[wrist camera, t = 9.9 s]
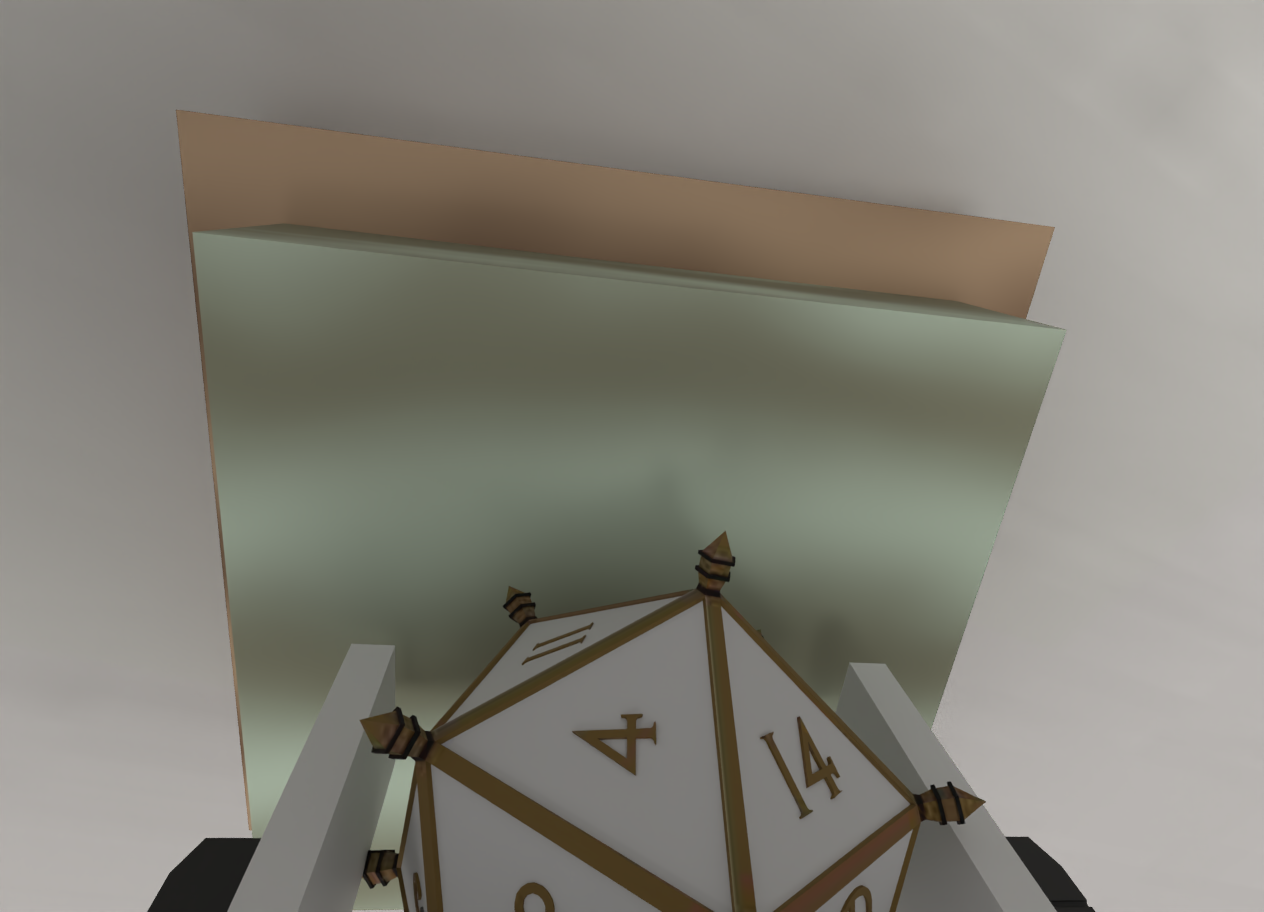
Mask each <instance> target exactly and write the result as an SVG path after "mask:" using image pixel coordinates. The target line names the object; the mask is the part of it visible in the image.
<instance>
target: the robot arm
mask: <svg viewBox="0 0 1264 912" xmlns="http://www.w3.org/2000/svg"><path fill="white" fill-rule="evenodd" d="M394 709H395V645H371V644H351V646H350V648H349V650H348V652H347V655H346V657H345V659H344V661H343V663H342V665H341V667H340V670H339V672H338V674H337V676H336V678H335V680H334V683H333V685H332V687H331V689H330V691H329V693H328V695H327V698H326V700H325V702H324V704H323V706H322V708H321V711H320V713H319V715H318V717H317V719H316V721H315V723H314V726H313V728H312V730H311V732H310V734H309V736H308V739H307V741H306V743H305V745H304V747H303V749H302V751H301V754H300V756H299V758H298V760H297V762H296V764H295V767H294V769H293V771H292V773H291V775H290V777H289V779H288V782H287V784H286V786H285V788H284V790H283V792H282V795H281V797H280V799H279V801H278V803H277V805H276V807H275V810H274V812H273V814H272V816H271V818H270V820H269V823H268V825H267V827H266V829H265V831H264V833H263V835H262V838H205V839H204V840H203V841H202V842H201V843H200V844H199V845H198V846H197V847H196V848H195V849H194V850H193V851H192V852H191V853H190V854H189V855H188V856H187V857H186V858H185V859H184V860H183V861H182V862H181V863H179V864H178V865H177V866H176V867H175V868H174V869H173V870H172V871H171V872H170V873H169V875H168V877H167V878H166V880H165V882H164V884H163V885H162V887H161V889H160V891H159V892H158V894H157V896H156V898H155V899H154V901H153V903H152V905H151V906H150V908H149V910H148V911H147V912H352V910H353V906H354V903H355V899H356V896H357V892H358V889H359V886H360V882H361V879H362V875H363V871H364V867H365V862H366V858H367V853H368V850H370V848H371V844H372V841H373V837H374V834H375V830H376V827H377V824H378V820H379V817H380V813H381V810H382V806H383V803H384V799H385V796H386V793H387V789H388V786H389V782H390V779H391V775H392V772H393V768H394V765H395V759H390V758H388V757H389V754H374V753H371V751H372V747H373V746H372V744H371V742H370V740H369V738H368V736H367V734H366V732H365V730H364V728H363V726H362V724H361V722H360V720H361V719H365V718H369V717H373V716H377V715H381V714H385V713H389V712H392V711H393V710H394ZM836 714H837V715H838V716H839V717H840V718H841V719H842V721H843V722H844V723H845V724H846V725H847V726H848V727H849V728H850V729H851V730H852V731H853V732H854V733H855V734H856V735H857V736H858V737H859V738H860V739H861V740H862V741H863V742H864V743H865V745H866V746H867V747H868V748H869V749H870V750H871V751H872V752H873V753H874V754H875V755H876V756H877V757H878V758H879V759H880V760H881V761H882V762H883V763H884V764H885V765H886V766H887V767H888V768H889V770H890V771H891V772H892V773H893V774H894V775H895V776H896V777H897V778H898V779H899V780H900V781H901V782H902V783H903V784H904V785H905V786H906V787H907V788H908V789H909V790H910V791H911V792H912V794H918V795H920V794H922V793H924V792H926V791H928V790H930V789H931V788H930V785H933V784H934V785H935V787H936V788H939V787H945V786H947V782H949V781H951V783H952V785H953V786H954V787H956V788H958V789H961V790H963V791H965V792H967V793H969V794H971V795H973V796H975V797H977V796H976V794H975V793H974V791H973V790H972V788H971V787H970V785H969V784H968V783H967V781H966V780H965V778H964V777H963V775H962V774H961V772H960V771H959V770H958V768H957V767H956V765H955V764H954V762H953V761H952V759H951V758H950V757H949V755H948V754H947V752H946V751H945V749H944V748H943V746H942V745H941V744H940V742H939V741H938V739H937V738H936V736H935V735H934V733H933V732H932V731H931V729H930V728H929V726H928V725H927V723H926V722H925V720H924V719H923V718H922V716H921V715H920V713H919V712H918V710H917V709H916V708H915V706H914V705H913V703H912V702H911V700H910V699H909V697H908V696H907V695H906V693H905V692H904V690H903V689H902V687H901V686H900V684H899V683H898V682H897V680H896V679H895V677H894V676H893V674H892V673H891V671H890V670H889V669H888V667H887V666H886V664H878V663H851V662H849V666H848V669H847V673H846V677H845V680H844V684H843V687H842V691H841V695H840V698H839V702H838V705H837V709H836ZM977 798H978V797H977ZM896 912H1095V911H1094V909H1093V908H1092V907H1089V906H1088V905H1087V900H1086V898H1085V897H1084V896H1083V894H1082V893H1081V892H1080V890H1079V889H1078V888H1077V886H1076V885H1075V884H1074V882H1073V881H1072V880H1071V878H1070V877H1069V876H1068V874H1067V873H1066V872H1065V870H1064V869H1063V868H1062V866H1061V865H1060V864H1058V863H1057V862H1056V861H1055V860H1054V859H1053V858H1052V857H1050V856H1049V855H1048V854H1047V853H1046V852H1045V851H1044V850H1042V849H1041V848H1040V847H1039V846H1038V845H1037V844H1036V843H1034V842H1033V841H1032V840H1031V839H1030V838H1029V837H1005V836H1004V835H1003V833H1002V832H1001V830H1000V829H999V827H998V826H997V824H996V823H995V822H994V820H993V819H992V817H991V816H990V814H989V813H988V811H987V810H986V809H985V807H984V806H983V805H981V806H980V807H979V808H978V809H977V810H976V811H974V812H973V813H972V814H971V815H970V816H968V817H967V818H966V819H965V824H961V825H958V824H957V821H952V822H947V825H940V824H939V822H936V821H930V820H924V821H922V822H921V824H920V827H919V831H918V834H917V838H916V842H915V845H914V849H913V852H912V856H911V859H910V863H909V866H908V870H907V873H906V877H905V880H904V884H903V887H902V891H901V894H900V898H899V901H898V905H897V909H896Z"/></svg>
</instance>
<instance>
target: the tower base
mask: <svg viewBox="0 0 1264 912" xmlns="http://www.w3.org/2000/svg"><path fill="white" fill-rule="evenodd" d="M176 115H177V125H178V134H179V144H180V154H181V164H182V174H183V184H184V194H185V203H186V213H187V223H188V233H189V243H190V253H191V263H192V272H193V282H194V292H195V302H196V312H197V322H198V332H199V341H200V351H201V361H202V371H203V381H204V391H205V401H206V410H207V420H208V430H209V440H210V450H211V460H212V469H213V479H214V489H215V499H216V509H217V519H218V529H219V538H220V548H221V558H222V568H223V578H224V588H225V598H226V607H227V617H228V627H229V637H230V647H231V657H232V667H233V676H234V686H235V696H236V706H237V716H238V726H239V736H240V745H241V755H242V765H243V775H244V785H245V795H246V805H247V814H248V824H249V830H252V836H253V838H262V835H263V833H264V831H265V829H266V827H267V825H268V823H269V820H270V818H271V816H272V814H273V812H274V810H275V807H276V805H277V803H278V801H279V799H280V797H281V795H282V792H283V790H284V788H285V786H286V784H287V782H288V779H289V777H290V775H291V773H292V771H293V769H294V767H295V764H296V762H297V760H298V758H299V756H300V754H301V751H302V749H303V747H304V745H305V743H306V741H307V739H308V736H309V734H310V732H311V730H312V728H313V726H314V723H315V721H316V719H317V717H318V715H319V713H320V711H321V708H322V706H323V704H324V702H325V700H326V698H327V695H328V693H329V691H330V689H331V687H332V685H333V683H334V680H335V678H336V676H337V674H338V672H339V670H340V667H341V665H342V663H343V661H344V659H345V657H346V655H347V652H348V650H349V648H350V646H351V644H371V645H395V708H396V707H397V706H398V707H399V708H401V710H402V714H403V715H405V716H407V717H409V718H410V717H411V716H412V715H414V716H416V717H417V720H418V724H419V725H420V726H421V727H422V728H423V729H424V730H425V731H430V730H431V729H432V728H433V727H434V726H435V725H436V723H437V722H438V721H439V720H440V719H441V718H442V717H443V715H444V714H445V713H446V712H447V711H448V710H449V709H450V707H451V706H452V705H453V704H454V703H455V702H456V701H457V699H458V698H459V697H460V696H461V695H462V694H463V693H464V691H465V690H466V689H467V688H468V687H469V686H470V685H471V683H472V682H473V681H474V680H475V679H476V678H477V677H478V675H479V674H480V673H481V672H482V671H483V670H484V669H485V667H486V666H487V665H488V664H489V663H490V662H491V661H492V659H493V658H494V657H495V656H496V655H497V654H498V653H499V651H500V650H501V649H502V648H503V647H504V646H505V645H506V644H507V642H508V641H509V640H510V639H511V638H512V637H513V636H514V634H515V633H516V632H517V631H518V630H519V629H520V626H519V623H516V622H515V621H513V620H512V619H510V618H509V616H508V615H509V614H510V613H509V612H508V611H507V610H506V609H504V608H503V605H504V604H505V603H506V598H507V593H508V588H509V586H510V587H513V588H515V589H518V590H520V591H522V592H525V593H528V592H530V593H531V597H530V599H531V601H532V603H533V602H535V604H536V606H535V610H534V611H535V616H536V617H537V618H542V617H548V616H553V615H558V614H563V613H569V612H574V611H579V610H584V609H590V608H595V607H600V606H606V605H611V604H616V603H621V602H627V601H632V600H637V599H642V598H648V597H653V596H658V595H664V594H669V593H674V592H679V591H685V590H690V589H695V588H696V587H697V585H698V583H699V577H698V571H696V570H695V565H699V563H700V558H701V555H699V554H698V550H704V549H705V548H706V547H707V546H708V545H710V544H711V543H712V542H713V541H714V540H715V539H716V538H718V537H719V536H720V535H721V534H722V533H723V532H724V531H726V534H727V538H728V542H729V546H730V549H731V553H732V556H734V557H735V566H734V567H732V566H731V568H730V571H729V572H731V573H730V581H729V582H725V584H724V585H723V587H722V588H721V590H720V593H721V594H722V595H723V596H724V597H725V599H726V600H727V601H728V602H729V603H730V604H731V605H732V606H733V607H734V608H735V609H736V610H737V611H738V612H739V613H740V614H741V615H742V616H743V617H744V618H745V619H746V620H747V621H748V623H749V624H750V625H751V626H752V627H753V628H754V629H755V630H760V629H761V634H762V636H764V639H765V640H766V641H767V642H768V643H769V644H770V645H771V646H772V648H773V649H774V650H775V651H776V652H777V653H778V654H779V655H780V656H781V657H782V658H783V659H784V660H785V661H786V662H787V663H788V664H789V665H790V666H791V667H792V668H793V669H794V670H795V672H796V673H797V674H798V675H799V676H800V677H801V678H802V679H803V680H804V681H805V682H806V683H807V684H808V685H809V686H810V687H811V688H812V689H813V690H814V691H815V692H816V693H817V694H818V696H819V697H820V698H821V699H822V700H823V701H824V702H825V703H826V704H827V705H828V706H829V707H830V708H831V709H832V710H833V711H834V712H835V713H836V709H837V705H838V702H839V698H840V695H841V691H842V687H843V684H844V680H845V677H846V673H847V669H848V666H849V662H851V663H878V664H886V666H887V667H888V669H889V670H890V671H891V673H892V674H893V676H894V677H895V679H896V680H897V682H898V683H899V684H900V686H901V687H902V689H903V690H904V692H905V693H906V695H907V696H908V697H909V699H910V700H911V702H912V703H913V705H914V706H915V708H916V709H917V710H918V712H919V713H920V715H921V716H922V718H923V719H924V720H925V722H926V723H927V725H928V726H929V728H930V729H931V728H932V725H933V722H934V719H935V716H936V713H937V710H938V707H939V704H940V701H941V698H942V695H943V692H944V689H945V686H946V684H947V681H948V678H949V675H950V672H951V669H952V666H953V663H954V660H955V657H956V654H957V651H958V648H959V645H960V642H961V639H962V636H963V633H964V631H965V628H966V625H967V622H968V619H969V616H970V613H971V610H972V607H973V604H974V601H975V598H976V595H977V592H978V589H979V586H980V583H981V580H982V578H983V575H984V572H985V569H986V566H987V563H988V560H989V557H990V554H991V551H992V548H993V545H994V542H995V539H996V536H997V533H998V530H999V527H1000V524H1001V522H1002V519H1003V516H1004V513H1005V510H1006V507H1007V504H1008V501H1009V498H1010V495H1011V492H1012V489H1013V486H1014V483H1015V480H1016V477H1017V474H1018V471H1019V469H1020V466H1021V463H1022V460H1023V457H1024V454H1025V451H1026V448H1027V445H1028V442H1029V439H1030V436H1031V433H1032V430H1033V427H1034V424H1035V421H1036V418H1037V416H1038V413H1039V410H1040V407H1041V404H1042V401H1043V398H1044V395H1045V392H1046V389H1047V386H1048V383H1049V380H1050V377H1051V374H1052V371H1053V368H1054V365H1055V362H1056V360H1057V357H1058V354H1059V351H1060V348H1061V345H1062V342H1063V339H1064V336H1065V333H1066V330H1065V329H1061V328H1057V327H1053V326H1049V325H1046V324H1042V323H1038V322H1034V321H1030V320H1027V319H1026V317H1027V313H1028V310H1029V307H1030V304H1031V301H1032V298H1033V295H1034V291H1035V288H1036V285H1037V282H1038V279H1039V276H1040V272H1041V269H1042V266H1043V263H1044V260H1045V257H1046V254H1047V250H1048V247H1049V244H1050V241H1051V238H1052V235H1053V231H1054V228H1055V227H1049V226H1041V225H1034V224H1026V223H1019V222H1012V221H1004V220H997V219H989V218H982V217H974V216H967V215H959V214H952V213H944V212H937V211H929V210H922V209H914V208H907V207H899V206H892V205H885V204H877V203H870V202H862V201H855V200H847V199H840V198H832V197H825V196H817V195H810V194H802V193H795V192H787V191H780V190H772V189H765V188H758V187H750V186H743V185H735V184H728V183H720V182H713V181H705V180H698V179H690V178H683V177H675V176H668V175H660V174H653V173H645V172H638V171H631V170H623V169H616V168H608V167H601V166H593V165H586V164H578V163H571V162H563V161H556V160H548V159H541V158H533V157H526V156H518V155H511V154H504V153H496V152H489V151H481V150H474V149H466V148H459V147H451V146H444V145H436V144H429V143H421V142H414V141H406V140H399V139H391V138H384V137H377V136H369V135H362V134H354V133H347V132H339V131H332V130H324V129H317V128H309V127H302V126H294V125H287V124H279V123H272V122H264V121H257V120H249V119H242V118H235V117H227V116H220V115H212V114H205V113H197V112H190V111H182V110H176ZM414 766H415V761H414V760H413V759H412V758H411V757H407V758H406V760H400V759H395V765H394V768H393V772H392V775H391V779H390V782H389V786H388V789H387V793H386V796H385V799H384V803H383V806H382V810H381V813H380V817H379V820H378V824H377V827H376V830H375V834H374V837H373V841H372V844H371V848H370V850H395V853H399V850H400V844H401V839H402V833H403V828H404V822H405V817H406V811H407V805H408V800H409V794H410V789H411V783H412V777H413V772H414ZM398 909H404V908H403V902H402V897H401V891H400V886H399V880H398V877H396V878H394V879H392V880H390V882H389V883H388V884H387V886H383V885H382V884H381V883H380V884H376V885H375V887H374V888H373V889H370V888H369V886H368V884H367V883H366V881H365V880H364V879H363V878H362V879H361V882H360V886H359V889H358V892H357V896H356V899H355V903H354V906H353V910H398Z"/></svg>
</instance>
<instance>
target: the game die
mask: <svg viewBox="0 0 1264 912" xmlns="http://www.w3.org/2000/svg"><path fill="white" fill-rule="evenodd" d="M698 554H699V555H701V558H700V563H699V565H695V570H696V571H698V577H699V583H698V585H697V587H696V588H695V589H690V590H685V591H679V592H674V593H669V594H664V595H658V596H653V597H648V598H642V599H637V600H632V601H627V602H621V603H616V604H611V605H606V606H600V607H595V608H590V609H584V610H579V611H574V612H569V613H563V614H558V615H553V616H548V617H542V618H537V617H536V616H535V611H534V610H535V606H536V604H535V602H533V603H532V601H531V599H530V597H531V593H530V592H528V593H525V592H522V591H520V590H518V589H515V588H513V587H510V586H509V588H508V593H507V598H506V603H505V604H504V605H503V608H504V609H506V610H507V611H508V612H509V613H510V614H509V615H508V616H509V618H510V619H512V620H513V621H515V622H516V623H519V626H520V629H519V630H518V631H517V632H516V633H515V634H514V636H513V637H512V638H511V639H510V640H509V641H508V642H507V644H506V645H505V646H504V647H503V648H502V649H501V650H500V651H499V653H498V654H497V655H496V656H495V657H494V658H493V659H492V661H491V662H490V663H489V664H488V665H487V666H486V667H485V669H484V670H483V671H482V672H481V673H480V674H479V675H478V677H477V678H476V679H475V680H474V681H473V682H472V683H471V685H470V686H469V687H468V688H467V689H466V690H465V691H464V693H463V694H462V695H461V696H460V697H459V698H458V699H457V701H456V702H455V703H454V704H453V705H452V706H451V707H450V709H449V710H448V711H447V712H446V713H445V714H444V715H443V717H442V718H441V719H440V720H439V721H438V722H437V723H436V725H435V726H434V727H433V728H432V729H431V730H430V731H425V730H424V729H423V728H422V727H421V726H420V725H419V724H418V720H417V717H416V716H414V715H412V716H411V717H410V718H409V717H407V716H405V715H403V714H402V710H401V708H399V707H398V706H397V707H396V708H395V709H394V710H393V711H392V712H389V713H385V714H381V715H377V716H373V717H369V718H365V719H361V720H360V722H361V724H362V726H363V728H364V730H365V732H366V734H367V736H368V738H369V740H370V742H371V744H372V746H373V747H372V751H371V753H374V754H389V757H388V758H390V759H400V760H406V758H407V757H411V758H412V759H413V760H414V761H415V766H414V772H413V777H412V783H411V789H410V794H409V800H408V805H407V811H406V817H405V822H404V828H403V833H402V839H401V844H400V850H399V853H395V850H368V853H367V858H366V862H365V867H364V871H363V875H362V878H363V879H364V880H365V881H366V883H367V884H368V886H369V888H370V889H373V888H374V887H375V885H376V884H380V883H381V884H382V885H383V886H387V884H388V883H389V882H390V880H392V879H394V878H396V877H398V880H399V886H400V891H401V897H402V902H403V908H404V912H896V909H897V905H898V901H899V898H900V894H901V891H902V887H903V884H904V880H905V877H906V873H907V870H908V866H909V863H910V859H911V856H912V852H913V849H914V845H915V842H916V838H917V834H918V831H919V827H920V824H921V822H922V821H924V820H930V821H936V822H939V824H940V825H947V822H952V821H957V824H958V825H961V824H965V819H966V818H967V817H968V816H970V815H971V814H972V813H973V812H974V811H976V810H977V809H978V808H979V807H980V806H981V805H983V804H984V803H985V802H986V801H984V800H982V799H980V798H977V797H975V796H973V795H971V794H969V793H967V792H965V791H963V790H961V789H958V788H956V787H954V786H953V785H952V783H951V781H949V782H947V786H945V787H939V788H936V787H935V785H934V784H933V785H930V788H931V789H930V790H928V791H926V792H924V793H922V794H920V795H918V794H912V792H911V791H910V790H909V789H908V788H907V787H906V786H905V785H904V784H903V783H902V782H901V781H900V780H899V779H898V778H897V777H896V776H895V775H894V774H893V773H892V772H891V771H890V770H889V768H888V767H887V766H886V765H885V764H884V763H883V762H882V761H881V760H880V759H879V758H878V757H877V756H876V755H875V754H874V753H873V752H872V751H871V750H870V749H869V748H868V747H867V746H866V745H865V743H864V742H863V741H862V740H861V739H860V738H859V737H858V736H857V735H856V734H855V733H854V732H853V731H852V730H851V729H850V728H849V727H848V726H847V725H846V724H845V723H844V722H843V721H842V719H841V718H840V717H839V716H838V715H837V714H836V713H835V712H834V711H833V710H832V709H831V708H830V707H829V706H828V705H827V704H826V703H825V702H824V701H823V700H822V699H821V698H820V697H819V696H818V694H817V693H816V692H815V691H814V690H813V689H812V688H811V687H810V686H809V685H808V684H807V683H806V682H805V681H804V680H803V679H802V678H801V677H800V676H799V675H798V674H797V673H796V672H795V670H794V669H793V668H792V667H791V666H790V665H789V664H788V663H787V662H786V661H785V660H784V659H783V658H782V657H781V656H780V655H779V654H778V653H777V652H776V651H775V650H774V649H773V648H772V646H771V645H770V644H769V643H768V642H767V641H766V640H765V639H764V636H762V634H761V629H760V630H755V629H754V628H753V627H752V626H751V625H750V624H749V623H748V621H747V620H746V619H745V618H744V617H743V616H742V615H741V614H740V613H739V612H738V611H737V610H736V609H735V608H734V607H733V606H732V605H731V604H730V603H729V602H728V601H727V600H726V599H725V597H724V596H723V595H722V594H721V593H720V590H721V588H722V587H723V585H724V584H725V582H729V581H730V573H731V572H729V571H730V568H731V566H732V567H734V566H735V557H734V556H732V553H731V549H730V546H729V542H728V538H727V534H726V531H724V532H723V533H722V534H721V535H720V536H719V537H718V538H716V539H715V540H714V541H713V542H712V543H711V544H710V545H708V546H707V547H706V548H705V549H704V550H698Z"/></svg>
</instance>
